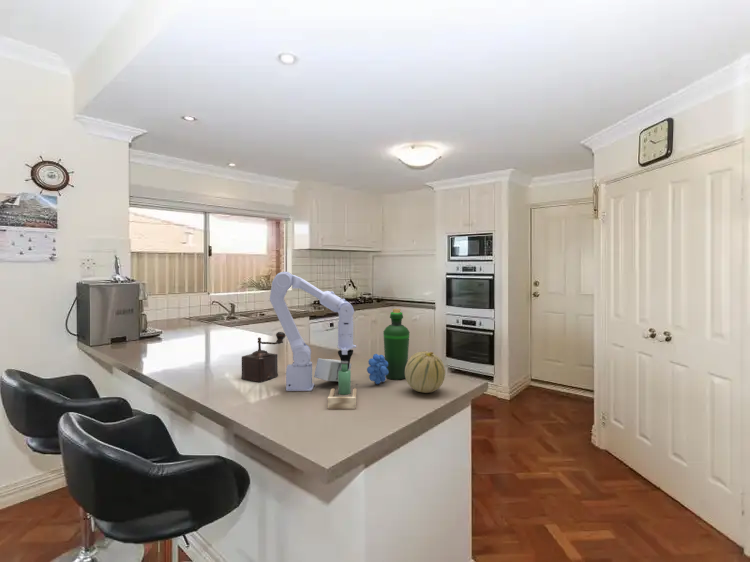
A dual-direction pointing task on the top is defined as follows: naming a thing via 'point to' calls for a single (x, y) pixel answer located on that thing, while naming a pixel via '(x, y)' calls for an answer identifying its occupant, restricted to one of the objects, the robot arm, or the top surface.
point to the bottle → (396, 346)
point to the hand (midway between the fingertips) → (345, 369)
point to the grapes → (377, 368)
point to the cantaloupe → (425, 372)
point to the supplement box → (328, 369)
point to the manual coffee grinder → (261, 363)
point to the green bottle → (344, 379)
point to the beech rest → (342, 401)
